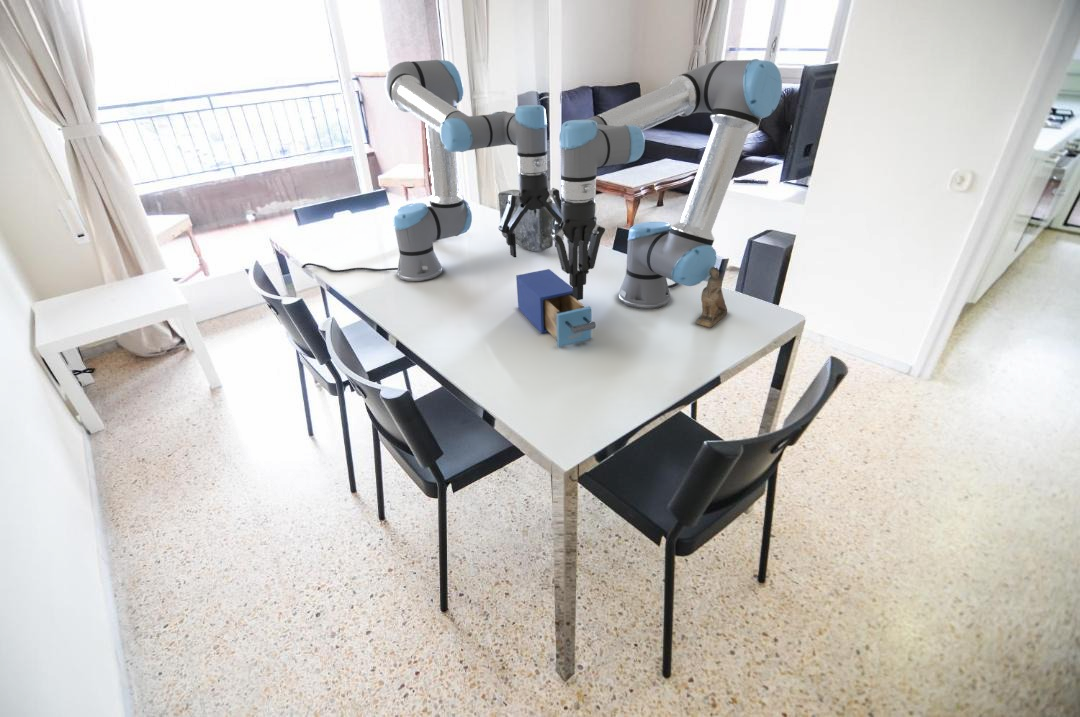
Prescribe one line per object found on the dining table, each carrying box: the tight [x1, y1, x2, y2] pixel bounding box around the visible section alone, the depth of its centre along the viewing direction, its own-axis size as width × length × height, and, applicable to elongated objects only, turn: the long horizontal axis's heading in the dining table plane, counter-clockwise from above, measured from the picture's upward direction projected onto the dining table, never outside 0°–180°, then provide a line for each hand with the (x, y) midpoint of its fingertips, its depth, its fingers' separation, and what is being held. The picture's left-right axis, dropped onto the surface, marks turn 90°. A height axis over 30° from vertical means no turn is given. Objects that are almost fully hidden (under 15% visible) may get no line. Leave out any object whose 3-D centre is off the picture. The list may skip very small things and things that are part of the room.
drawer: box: [543, 294, 597, 348], centre depth 131 cm, size 22×9×9 cm, turn 23°
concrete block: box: [497, 189, 554, 252], centre depth 191 cm, size 27×9×20 cm, turn 36°
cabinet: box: [515, 268, 573, 334], centre depth 141 cm, size 18×10×11 cm, turn 23°
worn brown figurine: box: [695, 266, 728, 328], centre depth 135 cm, size 12×6×18 cm, turn 136°
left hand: (536, 252), depth 139 cm, fingers open, 13 cm apart
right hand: (577, 297), depth 121 cm, fingers closed
